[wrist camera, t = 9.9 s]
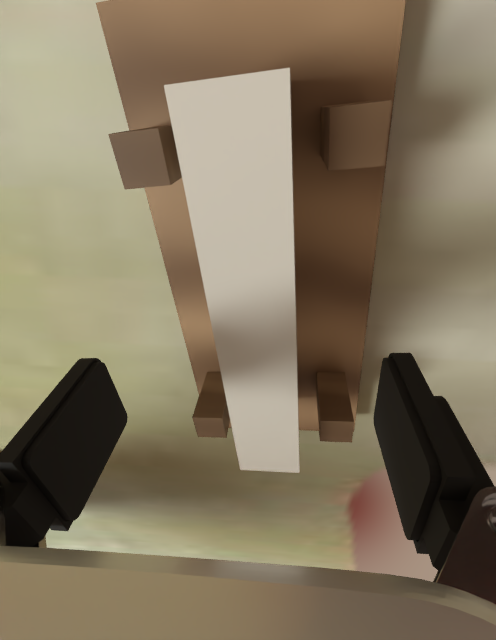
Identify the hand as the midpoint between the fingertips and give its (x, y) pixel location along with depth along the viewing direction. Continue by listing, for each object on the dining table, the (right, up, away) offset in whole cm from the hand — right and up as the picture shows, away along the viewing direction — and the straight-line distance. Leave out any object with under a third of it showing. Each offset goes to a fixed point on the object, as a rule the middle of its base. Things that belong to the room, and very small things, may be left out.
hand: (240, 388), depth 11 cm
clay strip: (+1, +4, +5) cm, 7 cm away
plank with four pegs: (+1, +5, +6) cm, 8 cm away
